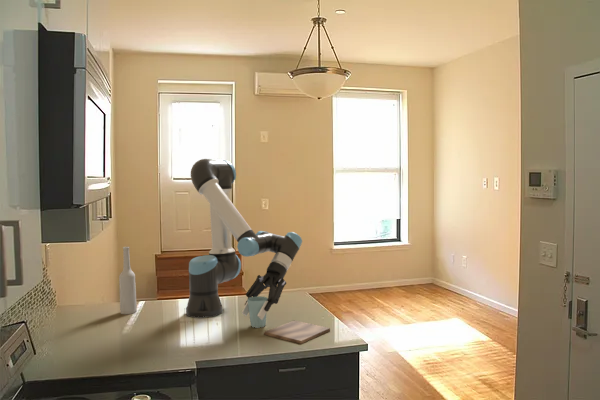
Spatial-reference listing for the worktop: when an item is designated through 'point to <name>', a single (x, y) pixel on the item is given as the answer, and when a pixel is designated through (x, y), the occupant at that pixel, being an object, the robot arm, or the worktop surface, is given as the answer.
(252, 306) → the cup
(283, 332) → the board
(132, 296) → the bottle
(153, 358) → the worktop surface
